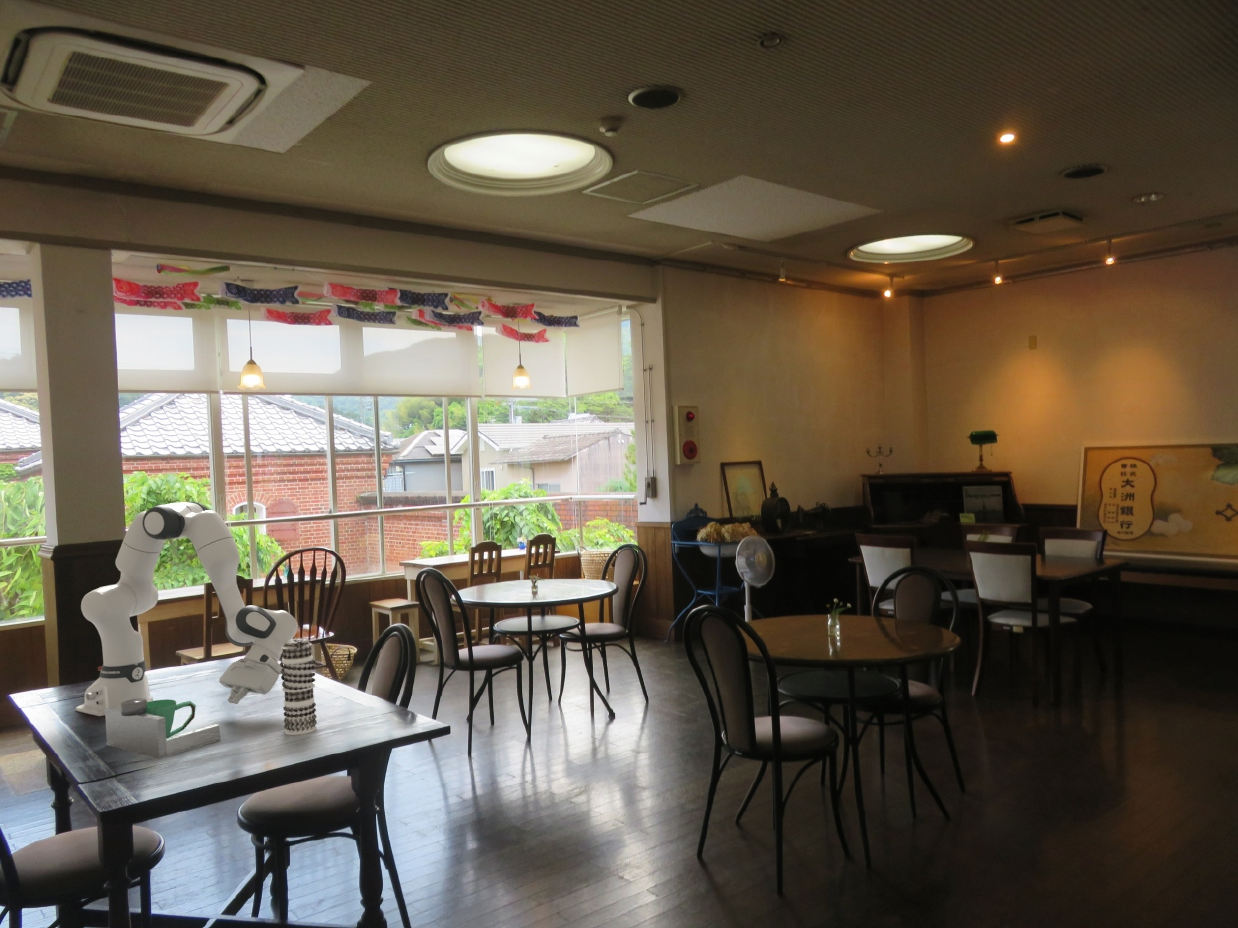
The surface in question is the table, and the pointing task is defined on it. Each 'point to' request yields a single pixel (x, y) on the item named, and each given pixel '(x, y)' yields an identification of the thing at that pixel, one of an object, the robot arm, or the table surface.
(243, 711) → the table surface
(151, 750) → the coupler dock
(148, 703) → the mug
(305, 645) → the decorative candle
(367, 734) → the table surface
